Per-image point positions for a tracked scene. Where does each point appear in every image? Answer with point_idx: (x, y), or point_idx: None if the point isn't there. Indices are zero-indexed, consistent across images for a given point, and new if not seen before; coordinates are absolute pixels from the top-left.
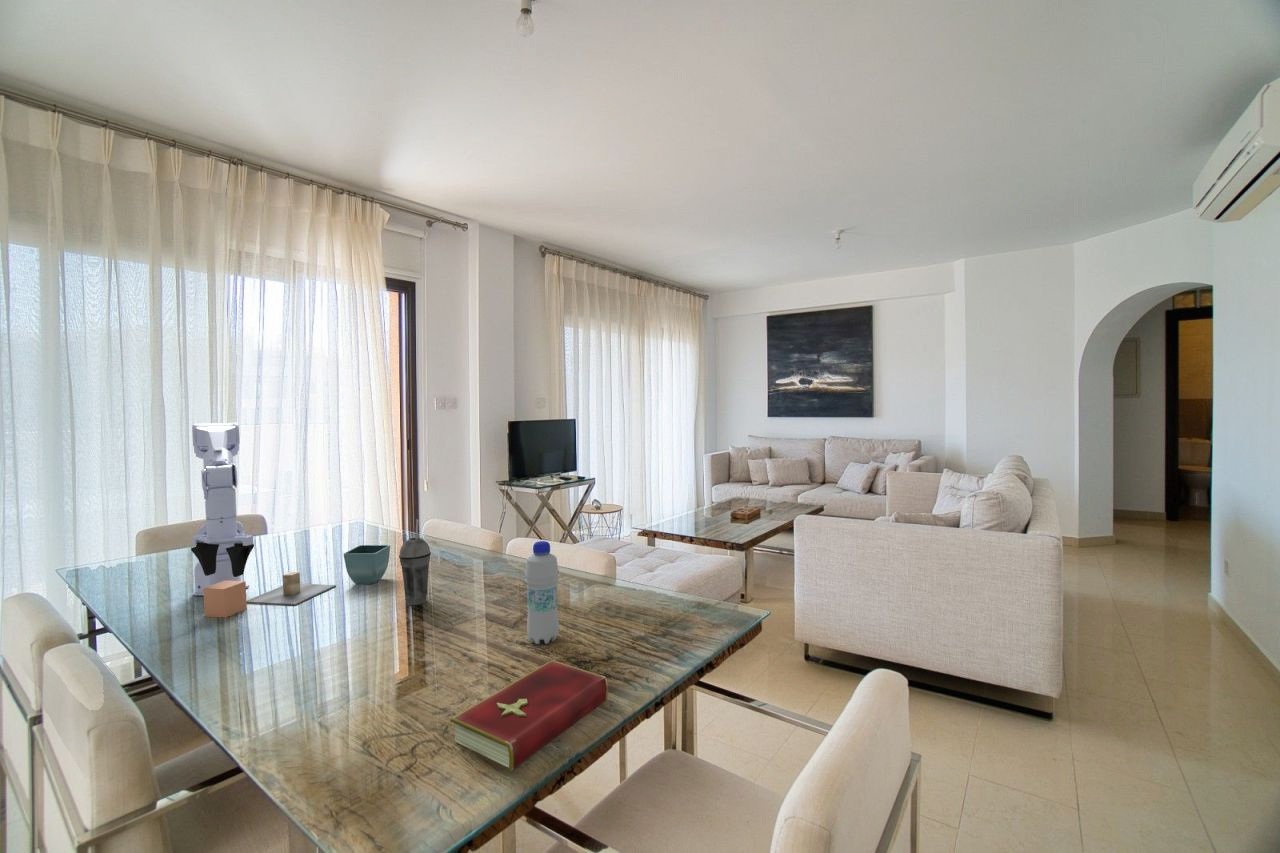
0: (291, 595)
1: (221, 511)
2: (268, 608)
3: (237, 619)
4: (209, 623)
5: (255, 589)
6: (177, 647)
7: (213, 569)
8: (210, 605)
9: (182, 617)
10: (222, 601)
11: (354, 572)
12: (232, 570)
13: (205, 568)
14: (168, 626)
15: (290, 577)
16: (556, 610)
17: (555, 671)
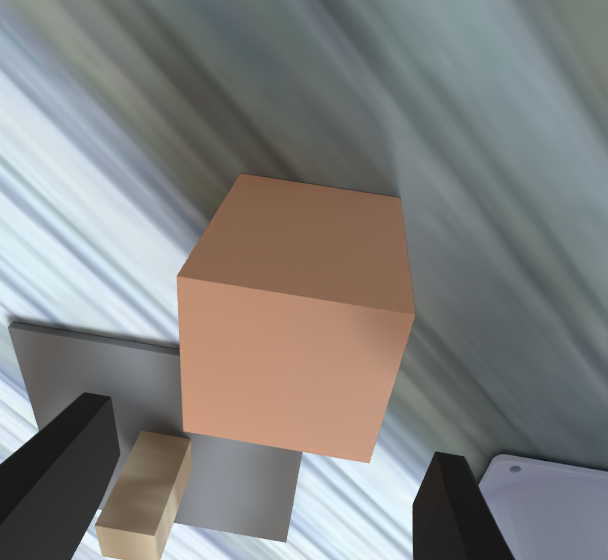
0: (139, 425)
1: None
2: (118, 298)
3: (139, 143)
4: (267, 73)
5: (402, 512)
6: None
7: (420, 538)
8: (348, 225)
9: (551, 190)
10: (233, 224)
11: None
12: (63, 447)
13: (455, 528)
14: (550, 11)
15: (109, 514)
16: None
17: None
